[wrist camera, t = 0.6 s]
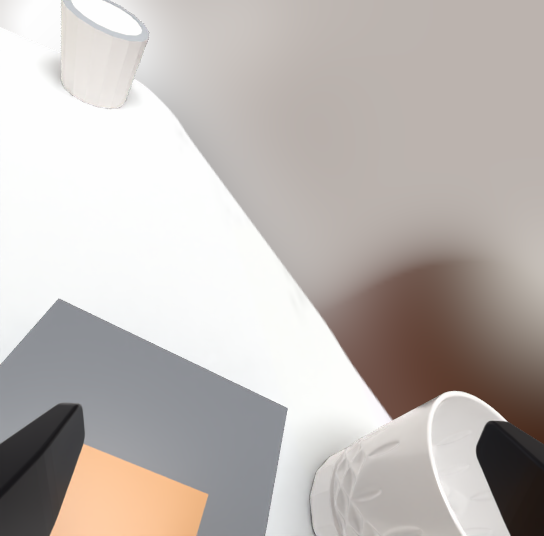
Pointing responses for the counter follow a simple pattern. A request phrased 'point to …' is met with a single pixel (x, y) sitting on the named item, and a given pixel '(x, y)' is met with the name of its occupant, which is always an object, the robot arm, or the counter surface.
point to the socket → (151, 413)
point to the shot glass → (100, 51)
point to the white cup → (412, 477)
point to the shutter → (126, 501)
